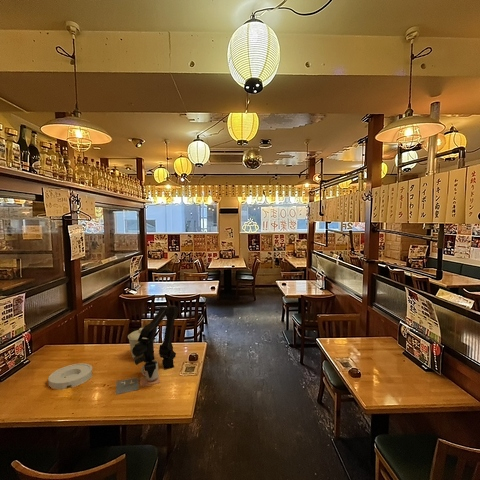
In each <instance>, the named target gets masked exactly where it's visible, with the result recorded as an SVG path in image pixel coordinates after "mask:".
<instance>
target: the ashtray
mask: <svg viewBox="0 0 480 480" xmlns="http://www.w3.org/2000/svg"><path fill="white" fill-rule="evenodd" d="M92 376H93V366H92V365H91V364H89V363H74V364H70V365H66V366H63V367H61V368H58V369H57V370H54V371H52V373H50V375H49V376H48V378H47V379H48V387H49V386H50V387H51V388H50V387H49V388H50V389H52V388H55V389H54V390H66V389H68V387H69V388H70V387H71V388H75V387H77V386H79V385H82V384H83V383H86V382H87V381H88V380H90V379H91V378H92ZM64 377H66V378H64Z"/></svg>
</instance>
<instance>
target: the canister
mask: <svg viewBox="0 0 480 480" xmlns="http://www.w3.org/2000/svg"><path fill="white" fill-rule="evenodd" d="M143 328H144V327H139V329H138V330H134V331H132V332H130V333H129V334H127V339H128V342H129V346H130V347H129V348H130V353H131V357H132V359H133V360H134V357H136V356H134V355H133V353H132V350H133V347H135V344H137V343H139V342H138V338H139V336H140V333H141V330H142V329H143ZM142 339H147V338H142ZM154 341H155V340H153V345H154V343H155V342H154Z"/></svg>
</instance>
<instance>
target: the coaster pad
mask: <svg viewBox="0 0 480 480" xmlns="http://www.w3.org/2000/svg"><path fill="white" fill-rule="evenodd" d="M139 381H140V382H139V384H140V385H139V386H140V388H145V387H149V386H154V385H158V384H161V379H160V374H159V373H158V378H157V379H155V380H152V381H148V380H147V379H146V376H142V377H139Z"/></svg>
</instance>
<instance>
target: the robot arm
mask: <svg viewBox="0 0 480 480" xmlns="http://www.w3.org/2000/svg"><path fill="white" fill-rule="evenodd" d="M179 312H180V310H179V307H178V306H177V305H167V306H161V307H159V311H158V312H157V313H156V315H155V316H154V317H153V319H152V320H151V321H150V322H149V323H148V324H146V325H145V326H144V327H142V328H143V329H142V330H141V333H140V336H139V338H138V342H139V343H137V344H135V347H133V350H132V353H133V355H134V356H136V357H134V359H133V363H134V364H135V366H138V365H140V364H141V363H144V364H143V365H144V371H145V372H146V371H148V375H149V378H151V377H152V375H153V372H154V370H155V369H156V363H155V362H153V361H152V360H155V350H154V348H155V347H154V344H153V340H154V341H155V340H156V339H157V338H156V337H155V335H156V334H157V330H158V327H159V325H160V324H161V322H162V321H163V320H164V318H165V317H166V321H165V322H166V324H165V331H164V336H163V342H162V343H161V344H160V345H159V346H158V348H159V349H158V355H159V357H160V358H161V359H162V360H161V364H162V365H161V366H162V368H163V370H169V369H174V368H175V365H174V362H175V361H174V359H175V358H176V355H177V353H176V352H175V351H174V346H173V343H172V340H173V334H174V326H175V325H174V324H175V320H176V318H177V317H178V315H179ZM142 338H147V339H142ZM148 362H149V363H148Z"/></svg>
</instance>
